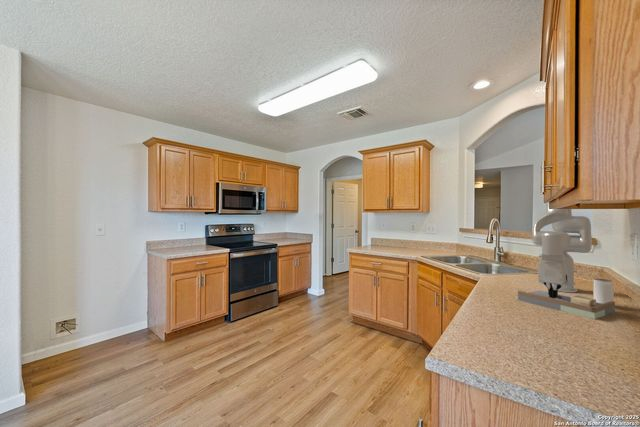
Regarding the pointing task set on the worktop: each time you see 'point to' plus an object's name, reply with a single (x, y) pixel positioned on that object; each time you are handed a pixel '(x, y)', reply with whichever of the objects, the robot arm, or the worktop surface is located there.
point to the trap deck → (567, 304)
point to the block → (583, 301)
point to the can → (603, 290)
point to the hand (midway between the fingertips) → (553, 297)
